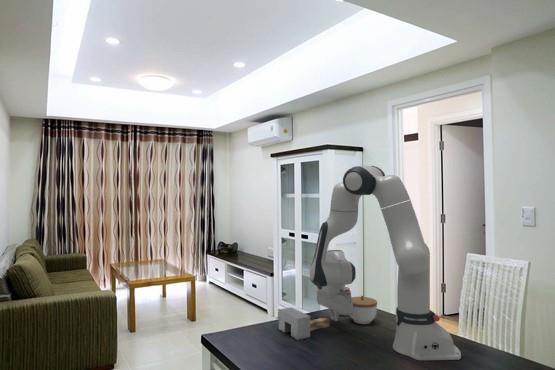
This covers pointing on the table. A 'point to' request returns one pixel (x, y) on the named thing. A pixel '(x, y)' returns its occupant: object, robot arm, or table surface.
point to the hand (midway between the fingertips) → (334, 319)
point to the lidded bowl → (363, 309)
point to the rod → (319, 323)
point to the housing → (294, 323)
